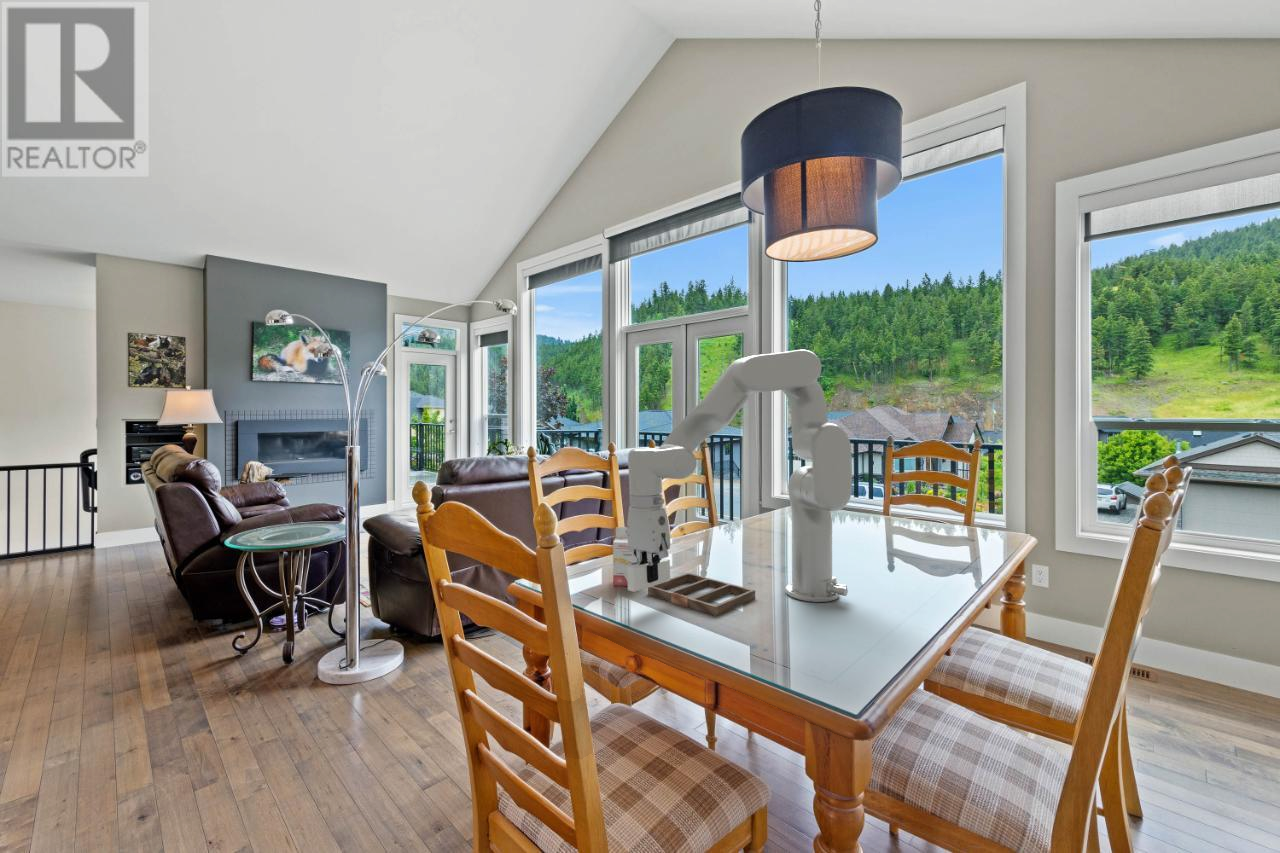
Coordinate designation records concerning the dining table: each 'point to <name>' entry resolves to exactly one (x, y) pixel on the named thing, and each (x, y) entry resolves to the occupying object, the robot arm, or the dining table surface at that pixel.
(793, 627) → the dining table surface
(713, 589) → the rack
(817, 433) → the robot arm
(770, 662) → the dining table surface
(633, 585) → the panel
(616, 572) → the ink cartridge box
